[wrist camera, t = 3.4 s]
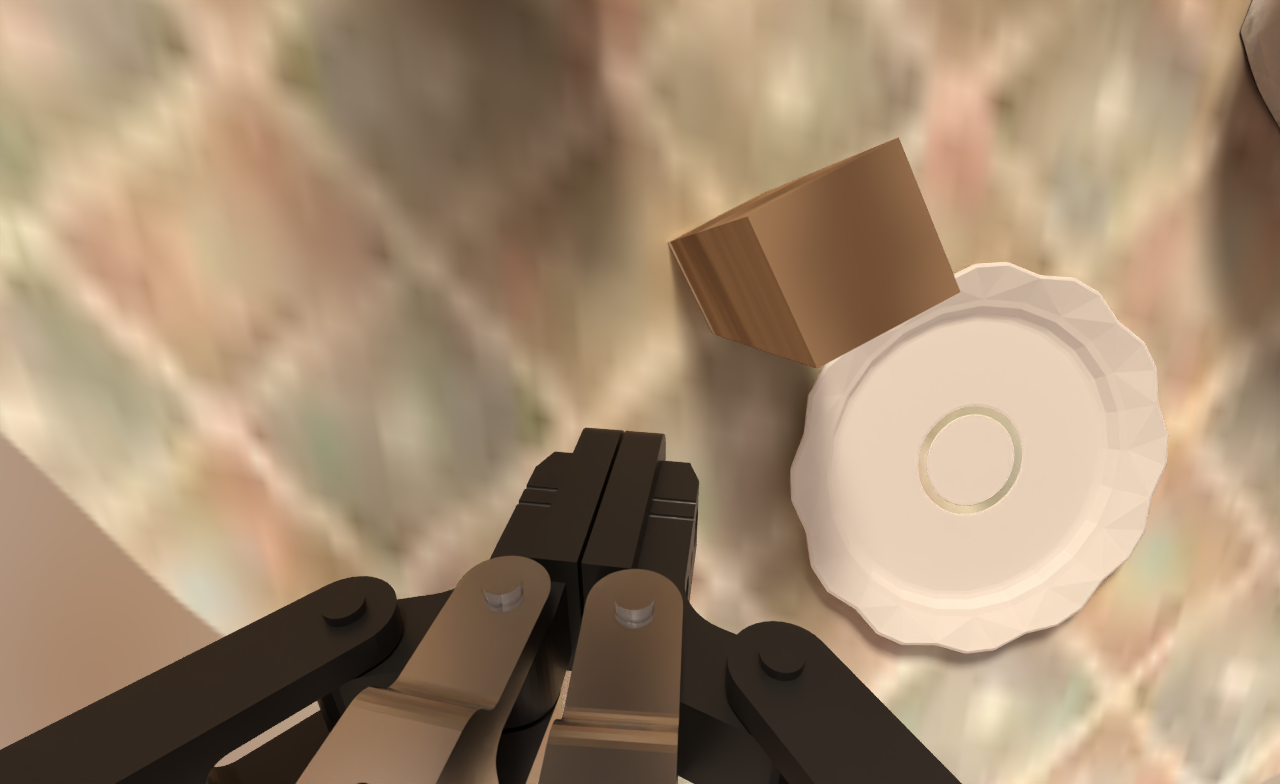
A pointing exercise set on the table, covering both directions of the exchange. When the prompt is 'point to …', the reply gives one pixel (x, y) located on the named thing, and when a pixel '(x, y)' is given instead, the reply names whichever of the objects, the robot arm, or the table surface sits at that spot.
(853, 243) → the walnut block
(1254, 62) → the ceramic pitcher
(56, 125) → the table surface
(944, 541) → the plate
